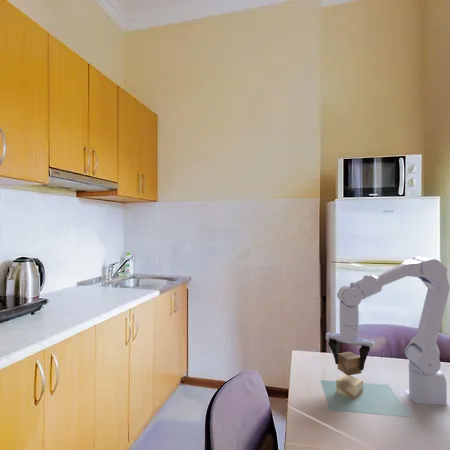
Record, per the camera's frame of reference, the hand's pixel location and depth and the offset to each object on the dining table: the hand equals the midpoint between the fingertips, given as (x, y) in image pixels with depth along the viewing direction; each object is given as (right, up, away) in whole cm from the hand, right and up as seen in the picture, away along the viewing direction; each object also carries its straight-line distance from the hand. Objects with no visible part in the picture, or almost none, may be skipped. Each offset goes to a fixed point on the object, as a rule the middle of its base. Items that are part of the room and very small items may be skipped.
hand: (349, 366), depth 100 cm
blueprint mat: (+3, -9, -2) cm, 10 cm away
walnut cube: (0, -2, 0) cm, 2 cm away
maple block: (0, -9, 0) cm, 8 cm away
